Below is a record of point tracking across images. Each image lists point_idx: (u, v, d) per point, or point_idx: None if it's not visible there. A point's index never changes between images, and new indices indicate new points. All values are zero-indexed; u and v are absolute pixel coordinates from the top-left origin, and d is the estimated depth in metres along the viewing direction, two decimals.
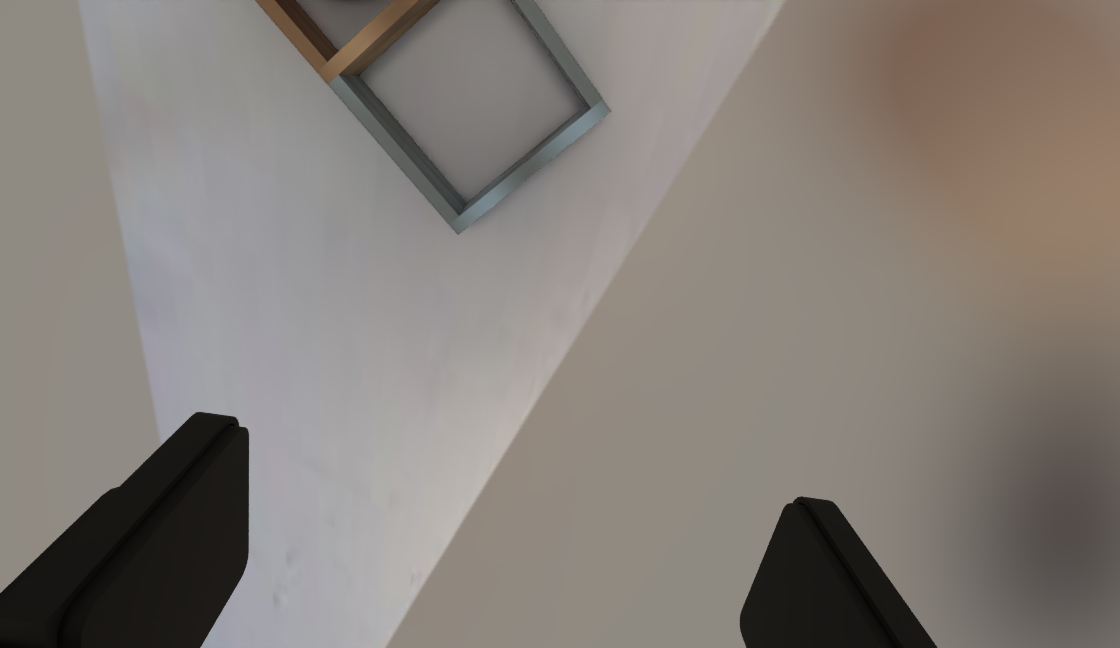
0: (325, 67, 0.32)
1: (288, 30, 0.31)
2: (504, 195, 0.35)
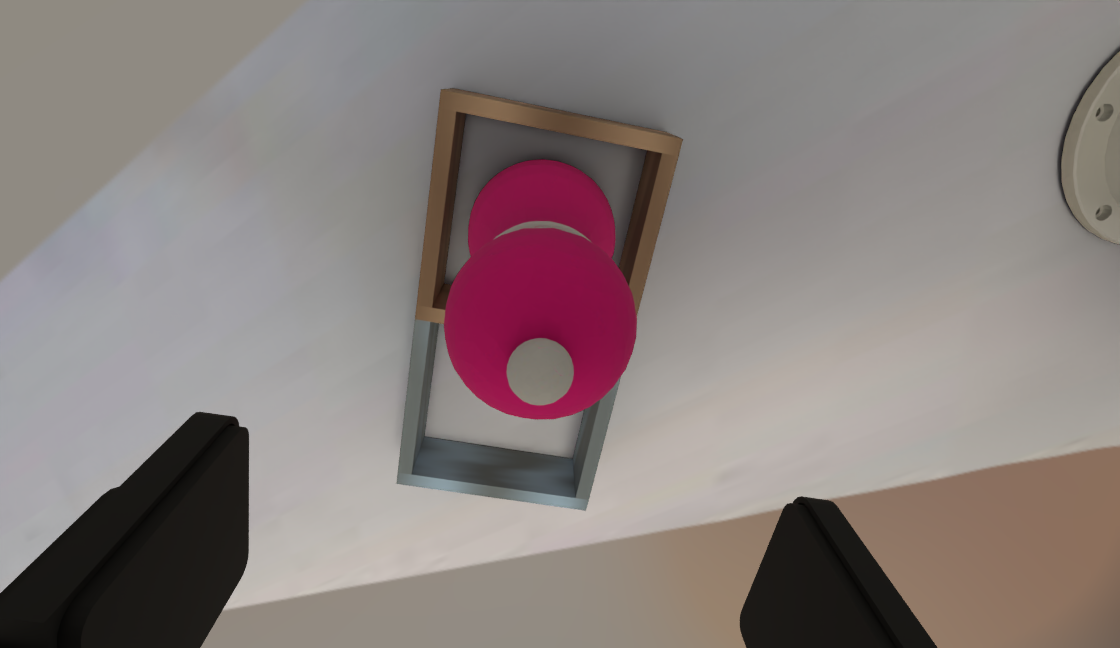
0: (426, 309, 0.31)
1: (427, 264, 0.30)
2: (459, 491, 0.35)
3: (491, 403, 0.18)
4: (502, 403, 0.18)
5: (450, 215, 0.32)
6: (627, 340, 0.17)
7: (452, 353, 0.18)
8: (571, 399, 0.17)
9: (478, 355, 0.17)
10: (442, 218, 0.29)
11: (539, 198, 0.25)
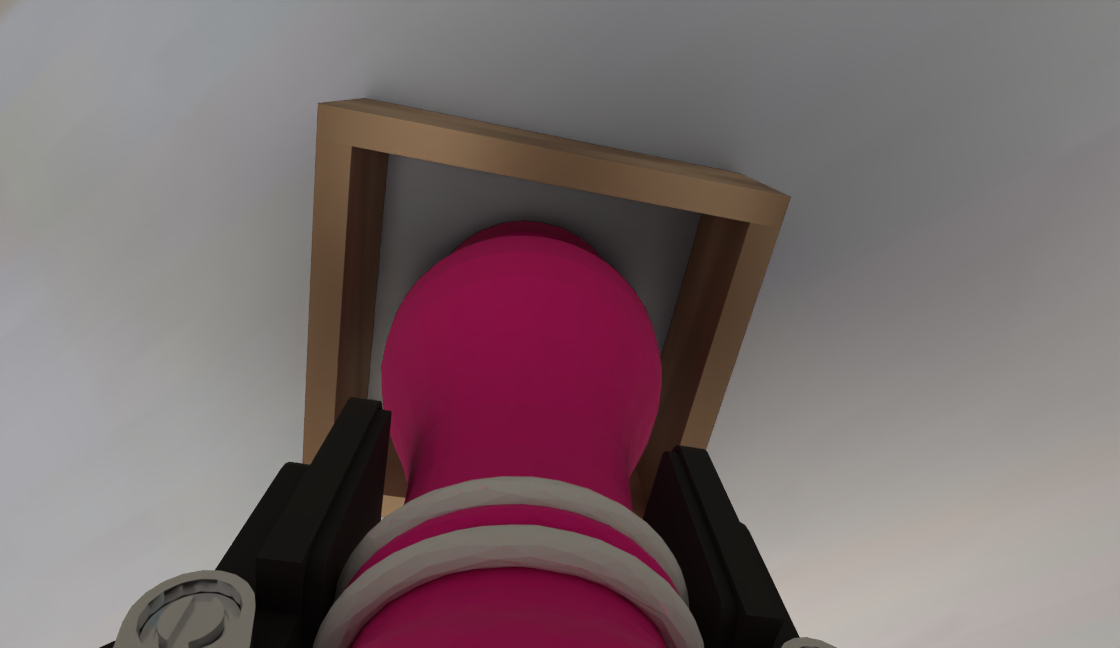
0: None
1: (315, 418, 0.17)
2: None
3: None
4: None
5: (366, 317, 0.19)
6: None
7: None
8: None
9: None
10: (338, 341, 0.16)
11: (514, 339, 0.12)
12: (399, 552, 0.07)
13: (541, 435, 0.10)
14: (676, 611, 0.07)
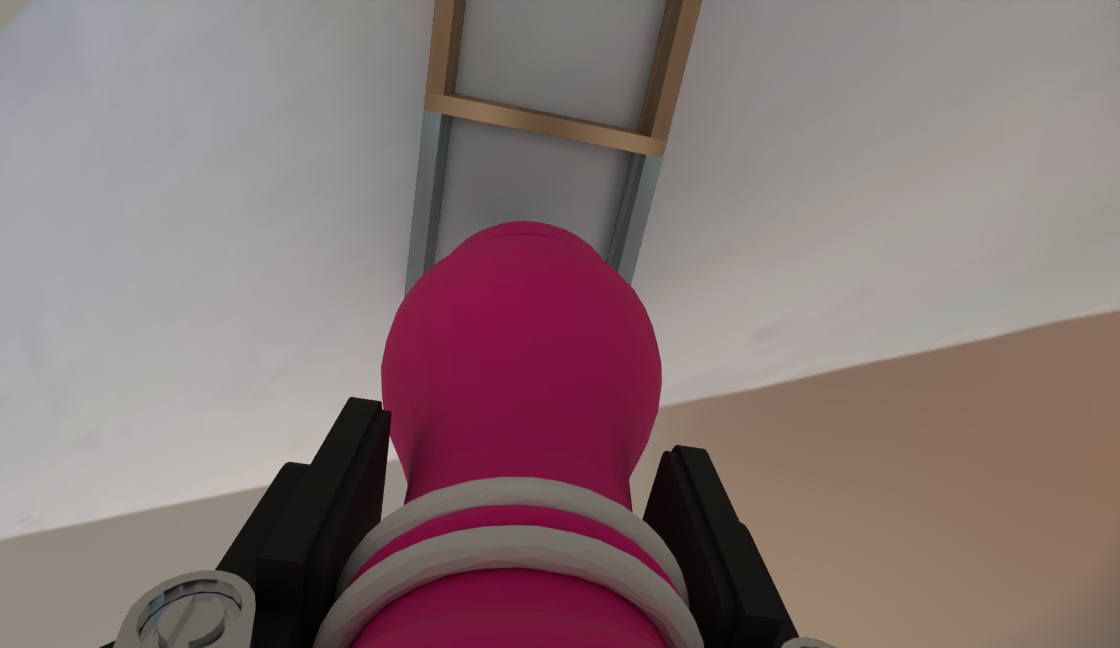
0: (437, 97, 0.27)
1: (438, 38, 0.26)
2: None
3: None
4: None
5: None
6: None
7: None
8: None
9: None
10: None
11: (513, 340, 0.12)
12: (399, 553, 0.07)
13: (541, 435, 0.10)
14: (676, 612, 0.07)
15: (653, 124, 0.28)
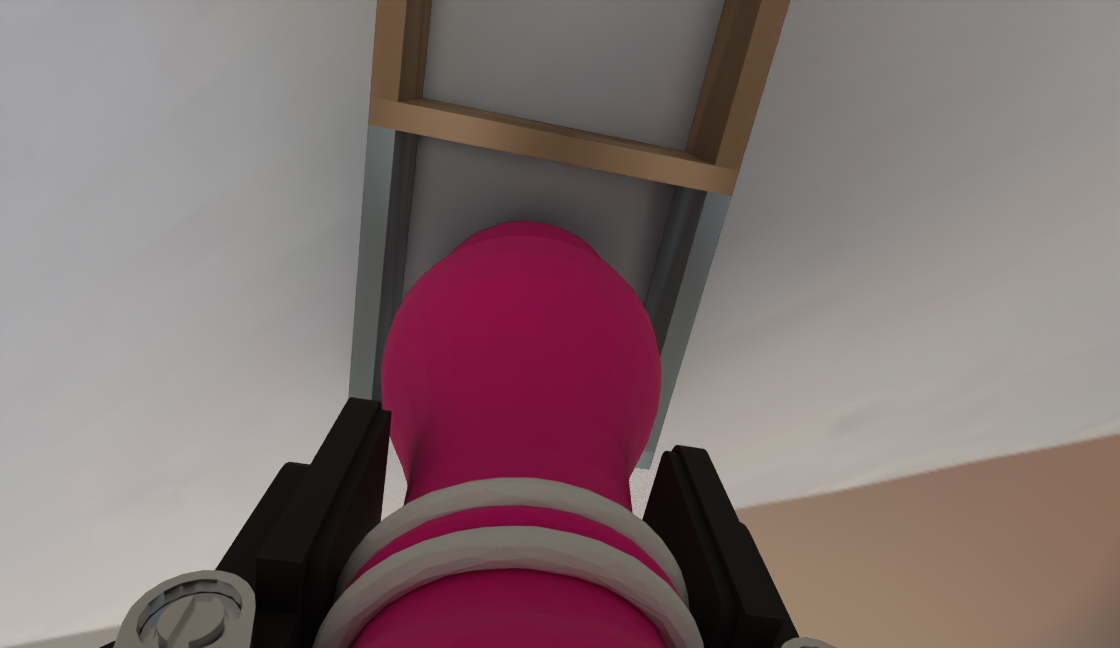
0: (387, 104, 0.18)
1: (387, 12, 0.17)
2: None
3: None
4: None
5: None
6: None
7: None
8: None
9: None
10: None
11: (514, 340, 0.12)
12: (399, 553, 0.07)
13: (541, 435, 0.10)
14: (676, 612, 0.07)
15: (719, 145, 0.19)
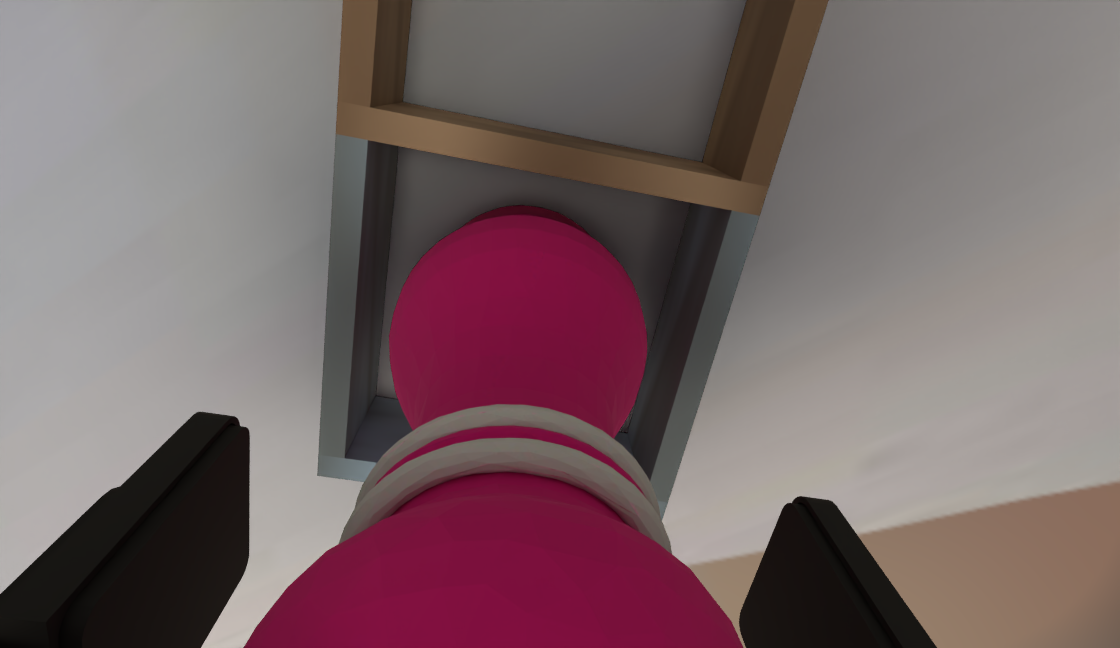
0: (358, 110, 0.15)
1: (356, 1, 0.14)
2: None
3: None
4: None
5: None
6: None
7: None
8: None
9: None
10: None
11: (509, 304, 0.13)
12: (411, 461, 0.08)
13: (533, 380, 0.11)
14: (645, 512, 0.08)
15: (746, 158, 0.16)
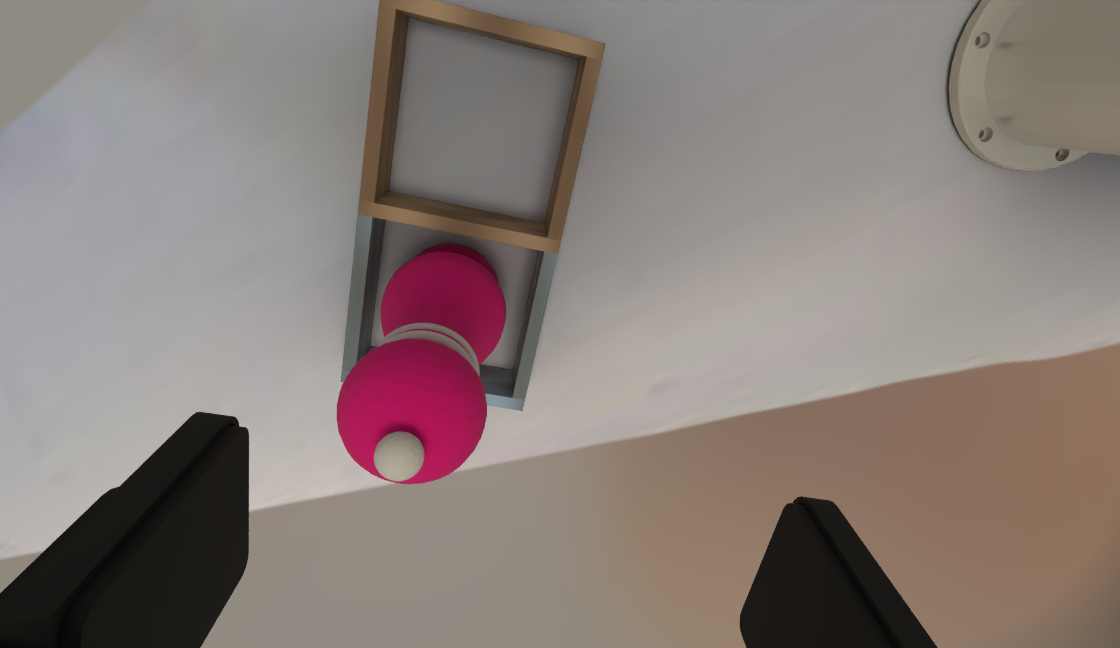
0: (368, 204, 0.33)
1: (369, 159, 0.32)
2: None
3: (371, 473, 0.24)
4: (379, 474, 0.23)
5: (393, 120, 0.34)
6: (473, 427, 0.24)
7: (341, 436, 0.23)
8: (430, 471, 0.23)
9: (357, 441, 0.23)
10: (383, 114, 0.31)
11: (433, 292, 0.31)
12: (391, 337, 0.26)
13: (437, 319, 0.29)
14: (465, 355, 0.27)
15: (549, 227, 0.34)
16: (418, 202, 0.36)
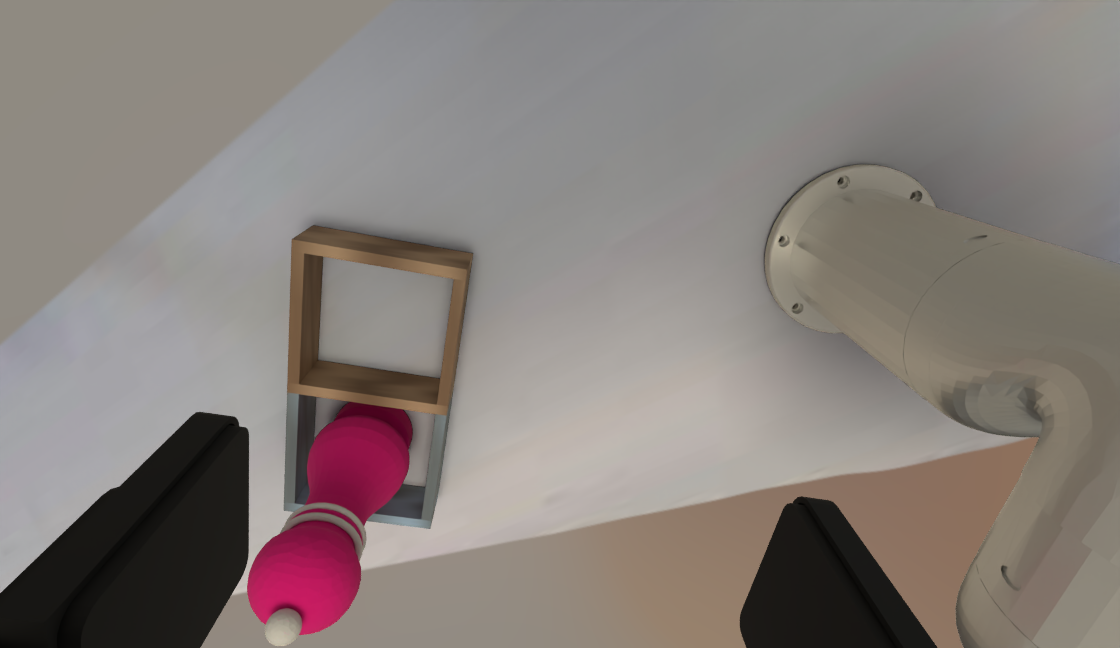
0: (295, 385, 0.43)
1: (292, 354, 0.42)
2: None
3: None
4: None
5: (315, 314, 0.44)
6: (343, 596, 0.33)
7: (250, 604, 0.33)
8: (312, 629, 0.33)
9: (258, 611, 0.32)
10: (301, 323, 0.41)
11: (340, 460, 0.41)
12: (294, 517, 0.36)
13: (337, 490, 0.39)
14: (350, 529, 0.36)
15: (438, 396, 0.44)
16: (339, 372, 0.45)
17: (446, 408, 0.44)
